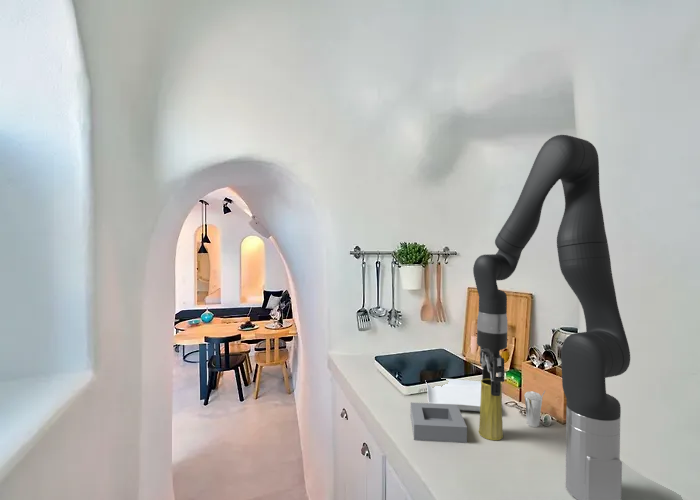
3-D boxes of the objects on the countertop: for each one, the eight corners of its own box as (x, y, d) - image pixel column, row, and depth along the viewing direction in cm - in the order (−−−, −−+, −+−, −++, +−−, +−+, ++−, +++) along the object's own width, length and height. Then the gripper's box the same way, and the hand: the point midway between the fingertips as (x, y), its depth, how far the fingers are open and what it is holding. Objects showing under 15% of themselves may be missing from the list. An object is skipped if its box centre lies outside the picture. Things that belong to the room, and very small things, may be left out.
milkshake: (547, 429, 102) (547, 393, 101) (526, 427, 103) (527, 392, 102) (542, 421, 106) (542, 387, 106) (522, 419, 107) (522, 385, 107)
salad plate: (501, 418, 109) (501, 406, 109) (427, 413, 112) (428, 401, 112) (486, 390, 130) (486, 380, 130) (424, 386, 133) (425, 377, 133)
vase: (488, 442, 95) (488, 387, 95) (474, 430, 101) (474, 379, 101) (508, 439, 97) (508, 385, 96) (493, 427, 102) (493, 376, 102)
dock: (466, 442, 95) (467, 427, 95) (414, 439, 96) (414, 424, 96) (456, 418, 108) (457, 404, 108) (410, 415, 109) (410, 402, 109)
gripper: (515, 336, 91) (514, 401, 91) (498, 323, 105) (497, 379, 106) (484, 335, 92) (483, 399, 92) (471, 322, 106) (470, 377, 106)
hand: (490, 388), depth 99 cm, fingers open, 8 cm apart
